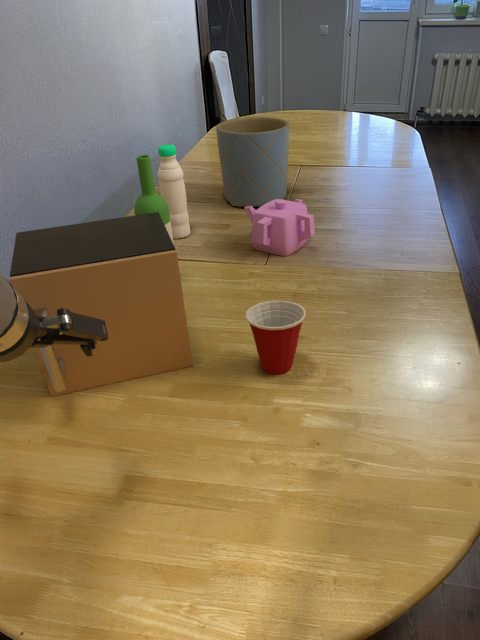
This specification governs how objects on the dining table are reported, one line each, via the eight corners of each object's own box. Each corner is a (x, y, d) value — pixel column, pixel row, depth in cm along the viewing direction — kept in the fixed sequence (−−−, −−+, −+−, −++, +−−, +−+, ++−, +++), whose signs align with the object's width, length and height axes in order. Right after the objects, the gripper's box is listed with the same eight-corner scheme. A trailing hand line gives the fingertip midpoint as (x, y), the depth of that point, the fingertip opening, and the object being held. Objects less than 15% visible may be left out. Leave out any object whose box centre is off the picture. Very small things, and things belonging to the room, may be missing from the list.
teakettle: (258, 261, 136) (256, 215, 128) (244, 236, 149) (242, 193, 142) (320, 252, 139) (321, 207, 131) (300, 228, 152) (301, 187, 145)
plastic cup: (296, 345, 104) (296, 292, 97) (312, 377, 95) (313, 322, 88) (243, 353, 102) (240, 300, 95) (254, 387, 93) (251, 332, 86)
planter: (291, 209, 165) (291, 131, 151) (220, 212, 165) (213, 134, 152) (287, 186, 184) (287, 115, 170) (223, 188, 184) (218, 118, 170)
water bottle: (195, 234, 151) (185, 145, 137) (176, 241, 147) (164, 150, 133) (180, 228, 155) (168, 141, 141) (161, 235, 151) (147, 146, 137)
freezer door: (200, 387, 94) (185, 269, 80) (50, 422, 87) (5, 301, 74) (191, 363, 100) (175, 249, 86) (51, 393, 94) (9, 276, 80)
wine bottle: (173, 271, 132) (155, 149, 115) (183, 283, 127) (166, 157, 109) (143, 278, 130) (120, 154, 112) (152, 291, 124) (129, 163, 107)
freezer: (191, 362, 100) (175, 248, 86) (51, 393, 94) (9, 275, 80) (174, 317, 114) (158, 211, 100) (51, 340, 108) (16, 232, 94)
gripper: (-149, 384, 48) (-57, 404, 68) (124, 330, 53) (133, 364, 74) (-160, 306, 49) (-66, 349, 69) (110, 262, 55) (123, 314, 75)
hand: (37, 357), depth 72 cm, fingers open, 13 cm apart
